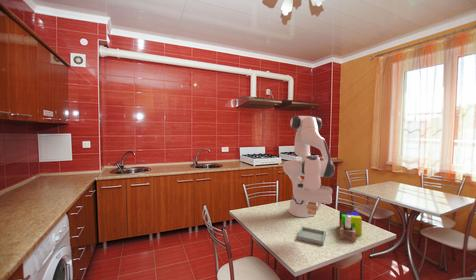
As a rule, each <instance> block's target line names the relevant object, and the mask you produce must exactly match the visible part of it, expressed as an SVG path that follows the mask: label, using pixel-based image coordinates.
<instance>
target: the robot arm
mask: <svg viewBox="0 0 476 280" xmlns="http://www.w3.org/2000/svg"><path fill="white" fill-rule="evenodd" d="M289 125H290V128H291V129H292V130H294V131H296V132H295V137H294V147H293V148H294V149H293V152H294V154H295V155H296V156H298V157H300V158H301V159H302V160H297V159H296V160H293V159H292V160H286V161H285V162H284V163H283V164H282V170H283V172H284V173H285V175H287V176H288V178H289V179H290V181H291V185H292V196H291V198H292V199H291V200H290V201H289V202H290V203H289V209H288V210H287V213H289V214H291V215H292V216H294V217H298V218H308V217H309V218H310V217H314V216H315V215H311V214H308V202H309V201H310V202H316V204H317V205H316V211H319V210H320V209H319V208H320V206H321V205H322V204H325V205H331V204H332V202H333V200H332V199H333V198H332V197H333V196H332V195H333V188H332V187H330V186H327V185H326V186H324V185H322V184H321V183H322V180H321V178H327V179H328V178H331V177H333V176H334V175H335V172H336V171H335V169H336V167H335V164H334V162H333V160H332V157H331V154H330V151H329V147H328V144H327V141H326V139H325V138H324V137H322V136H321V135H320V133H319V131H320V130H321V129H322V126H323V121H322V119H321V118H320V117H318V116H311V115H310V116H309V115H294V116H292V117H291V119H290V123H289ZM311 147H314V148H316V149H318V150H319V151H320V153H321V157H322V160H321V158H320V157H319V156H318V155H313V154H311ZM302 177H304V178H303V179H302Z"/></svg>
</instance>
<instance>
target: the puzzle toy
mask: <svg viewBox="0 0 476 280" xmlns="http://www.w3.org/2000/svg"><path fill="white" fill-rule="evenodd" d="M346 215H349V216H351V226H352V227H356V236H362V231H363V230H362V227H363V226H362V224H363V220H362V218H363V217H361V215H360V214H359V212H357V211H349V210H348V211H347V210H339V222H338V223H339V228H340V227H341V225H345V216H346Z"/></svg>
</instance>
